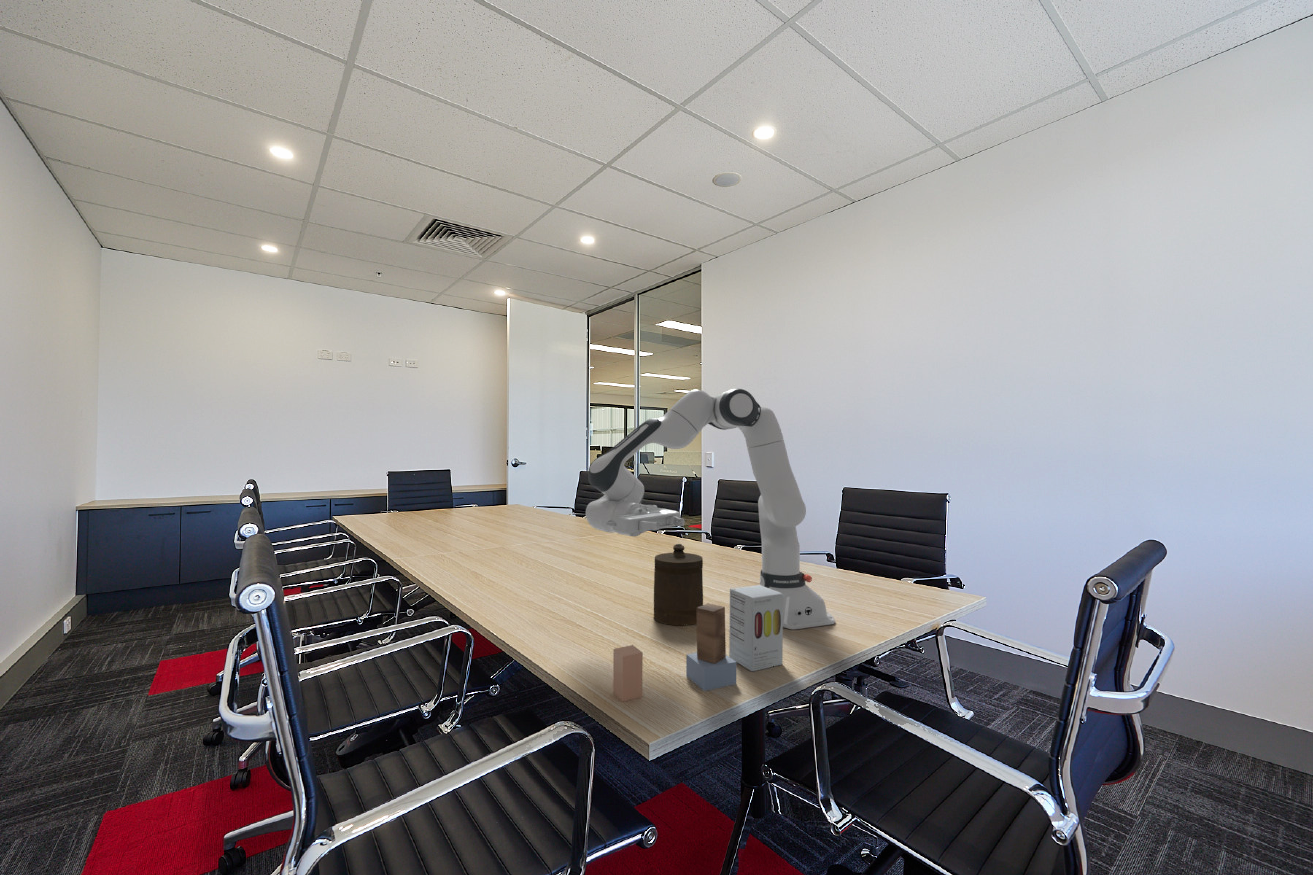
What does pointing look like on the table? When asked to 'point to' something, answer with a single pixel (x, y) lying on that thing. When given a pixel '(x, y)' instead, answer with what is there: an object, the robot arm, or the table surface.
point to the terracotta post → (627, 672)
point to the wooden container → (677, 587)
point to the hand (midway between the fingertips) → (670, 524)
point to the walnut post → (711, 633)
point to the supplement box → (756, 627)
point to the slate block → (710, 672)
